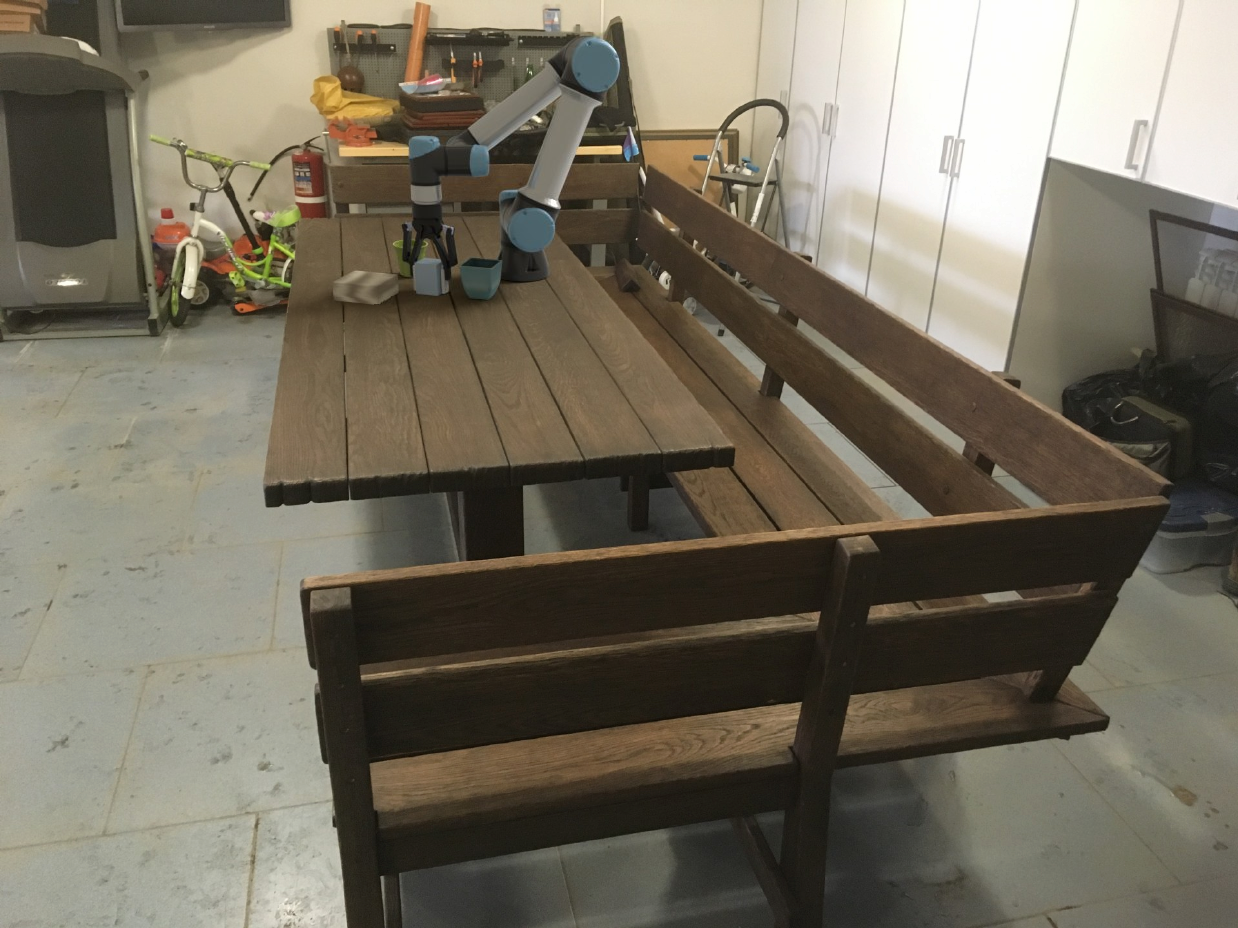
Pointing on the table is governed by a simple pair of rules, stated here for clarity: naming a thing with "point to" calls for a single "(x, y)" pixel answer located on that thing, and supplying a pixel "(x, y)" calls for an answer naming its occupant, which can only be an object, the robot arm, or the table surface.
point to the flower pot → (480, 277)
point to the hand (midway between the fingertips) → (431, 290)
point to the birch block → (365, 287)
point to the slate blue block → (428, 276)
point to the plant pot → (399, 249)
